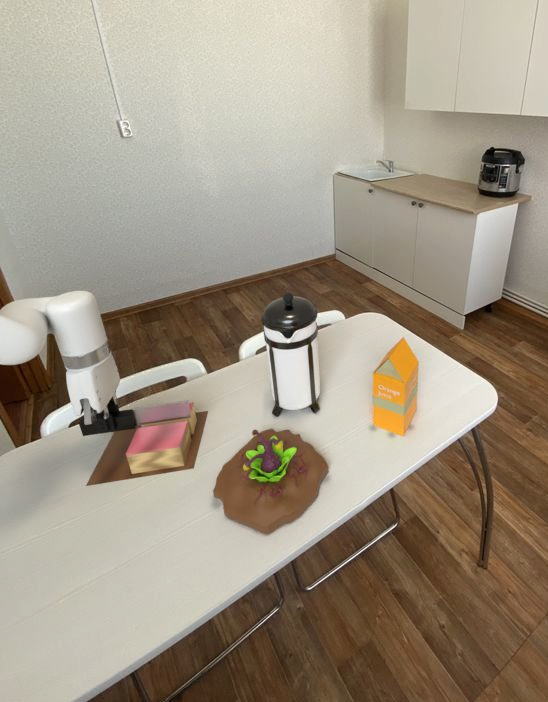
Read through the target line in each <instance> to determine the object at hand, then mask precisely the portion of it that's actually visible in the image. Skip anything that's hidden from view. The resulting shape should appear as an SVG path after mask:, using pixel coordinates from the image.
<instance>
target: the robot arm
mask: <svg viewBox="0 0 548 702" xmlns="http://www.w3.org/2000/svg"><path fill="white" fill-rule="evenodd" d="M105 329H106V328H105V326H104V323H103V318H102V316H101V312H100V309H99V306H98V302H97V299H96V297H95V295H94V293H92V292H90V291H87V290H73V291H67V292H64V293H62V294H61V293H60V294H59V295H55V296H53V295H52V296H45V297H29V298H21V299H17V300H14V301H10V302H8V303H7V304H5V305H4V306H3V307H1V309H0V366H1V365H2V366H15V365H20V364H24V363H27V362H29V361H31V360H32V359H34V358H36V357H37V356H38V355H39V354H40V353H41V351H42V350H43V348H44V346H45V344H46V341H47V336H48V335H49V334H52V335H53V336H54V339H55V342H56V345H57V348H58V350H59V353H60V356H61V359H62V362H63V365H64V368H65V369H66V372H65V380H66V387H67V393H68V396H69V400H70V404H71V407H72V411H73V414H74V415H75V416H76V417H80V416H82V414H83V416H84V424H85V425H89V424H93V423H94V422H95V424H96V427H97V430H98V433H99V434H98V435H101V434H109V433H114V432H115V430H116V426H115V423H114V420H113V417H112V415H109V412H116V411H120V408H119V406H118V397H117V389H118V387H119V385H120V382H121V377H120V373H119V369H118V367H117V363H116V361H115V358H114V355H113V354H112V349H111V346H110V343H109V340H108V336H107V332H106V330H105Z"/></svg>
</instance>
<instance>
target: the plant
mask: <svg viewBox="0 0 548 702" xmlns="http://www.w3.org/2000/svg"><path fill="white" fill-rule="evenodd" d="M251 436H253V437H252V438H251V439H250V440H249V441H248V442H247V443H246V444H245V445H244V446H242V447H241V448H240V449H239V450H238V451H237V452H236V453H235V454H234V455H233V456H232V457H231V458H230V460H228V461H227V462H225V463H224V464H223V465H222V467H221V470H220V472H219V473H218V475H217V477H216V480H215V485H214V488H213V490H212V493H213V497H214V498H216V499H219V500H220V501H221V502H222V506H223V512H224V516H225V518H227V519H228V520H231V521H234V522H236V523H238V524H240V525H243V526H245V527H248V528H250V529H252V530H253V531H256V532H258V533H260V534H263V535H266V536H268V535H270V534H272V533H274V532H276V531H277V530H278V529H280V528H281V527H283V526H285V525H289V524H292V523H294V522H295V521H297V520H298V519H299V518H300V517H302V515H303V514H304V513H305V512H306V511H307V510H308V509H309V508H310V506H311V505H312V504H313V503H314V502H315V501H316V499H318V497H319V490H320V486H321V484H322V482H323V480H324V478H325V477H326V476H327V474H328V473H329V464H328V463H327V461H326V460H325V458H324V457H323V455H321V454H320V453H319V452H318V451H317V450H316V448H315V447H314V446H313V445H312V444H311V443H309V442H307V441H304V440H303V439H302V437H301V434H300V433H293V432H292V430H290V429H284V430H281V431H280V430H279V431H276V430H275V429H274V428H269V429H266V430H262V431H260V432H259V430H258V429H253V430H252V432H251Z"/></svg>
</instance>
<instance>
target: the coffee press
mask: <svg viewBox="0 0 548 702" xmlns="http://www.w3.org/2000/svg"><path fill="white" fill-rule="evenodd" d="M317 318H318V309H317V307H316V306H315V305H314V304H313V303H312V301H311V300H309V299H307V298H304V297H301V296H297V295H296V296H295V295H293V294H292V293H290V292H286V293H284V295H283V297H279V298H276V299H275V300H273V301H271V302H269V304H268V305H267V306H266V307H265V308H264V310H263V312H262V314H261V315H260V320H261V324H262V325H263V339H264V343H265V346H266V355H267V362H268V363H267V364H268V372H269V380H270V389H271V396H272V400H273V402H274V406H273V408H272V412H271V414H272V415H273V416H274V417H275V418H279V416H280V415H281V413H282V411H283V410H287V411H297V410H298V411H299V410H302V409H305V408H307V407H309V409H310V410H311V412H312V413H313V414H317V413H318V412H319V411H320V410H321V409H320V406H319V404H318V402H317V400H318V398H319V396H320V393H321V376H320V360H319V359H320V358H319V344H318V342H319V341H318V335H319V330H318V329H319V328H318V323H317V322H318V321H317Z"/></svg>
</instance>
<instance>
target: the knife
mask: <svg viewBox="0 0 548 702" xmlns="http://www.w3.org/2000/svg"><path fill="white" fill-rule="evenodd" d="M189 403H190V402H189V400H181V401H174V402H167V403H160V404H151V405H144V406H136V407H132V408H130V409H124V410H119V411H116V412H109V415H112V417H113V420H114V423H115V426H116V430H115V431H122V430H129V429H135V428H136V426H137V425H144V424H151V423H158V422H165V421H172V420H179V419H186V418H191V412H190V407H189ZM78 425H79V428H80V431H81V434H82V437H86V436H93V435H100V434H99V433H98V430H97V427H96V424H95V422H94V423H93V424H89V425H85V424H84V415H83V416H82V417H81V418H80V420H79V422H78Z"/></svg>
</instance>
